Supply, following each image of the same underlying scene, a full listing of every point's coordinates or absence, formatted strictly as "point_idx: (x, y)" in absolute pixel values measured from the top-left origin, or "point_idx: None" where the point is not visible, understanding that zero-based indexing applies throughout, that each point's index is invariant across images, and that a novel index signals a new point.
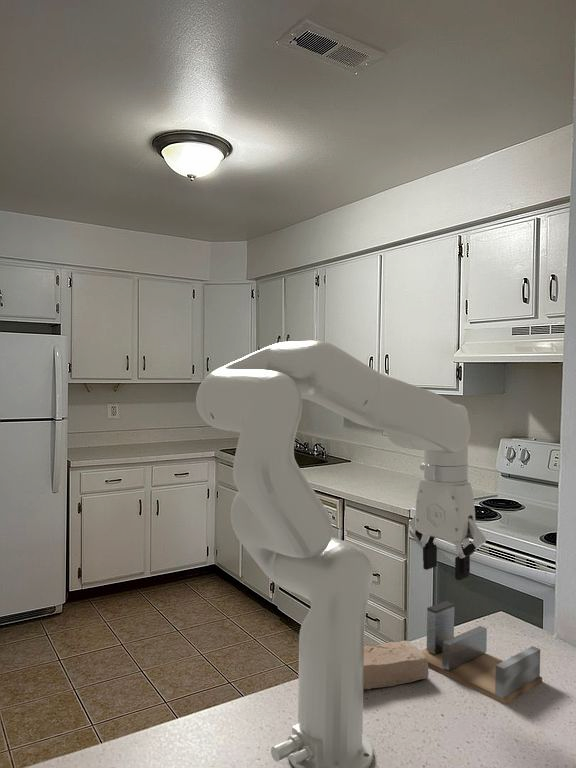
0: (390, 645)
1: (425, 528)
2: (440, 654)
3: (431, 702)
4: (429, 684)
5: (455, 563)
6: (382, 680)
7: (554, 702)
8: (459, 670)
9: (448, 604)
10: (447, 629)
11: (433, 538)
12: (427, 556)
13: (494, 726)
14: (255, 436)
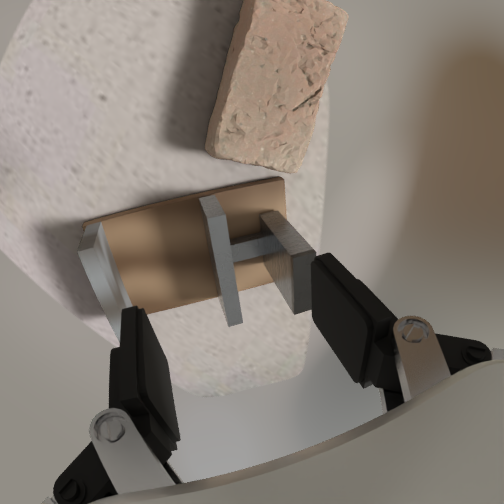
0: (301, 126)
1: (464, 432)
2: (256, 226)
3: (143, 105)
4: (194, 143)
5: (141, 365)
6: (230, 49)
7: (71, 293)
8: (193, 218)
9: (299, 302)
10: (275, 267)
11: (389, 404)
12: (344, 301)
13: (42, 162)
14: None
